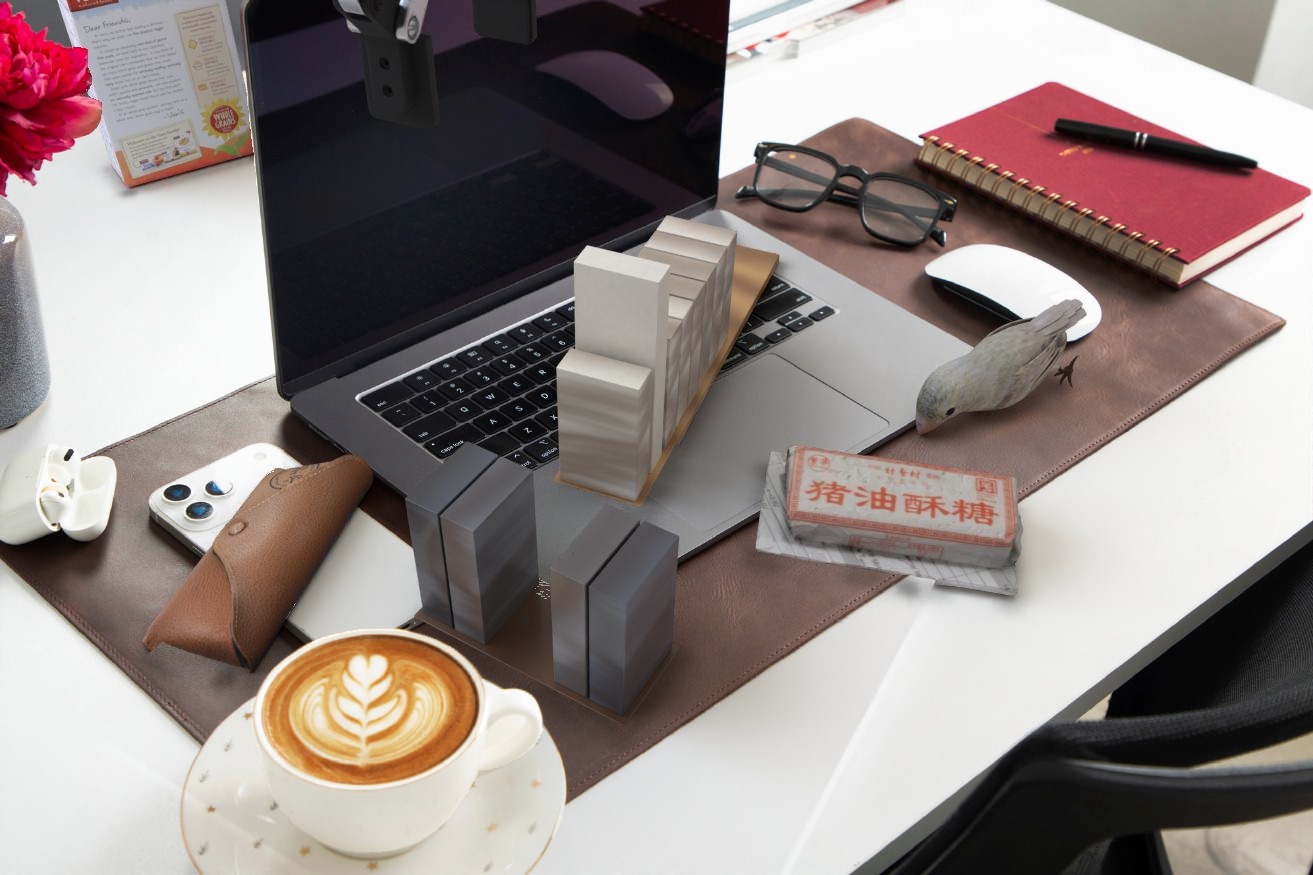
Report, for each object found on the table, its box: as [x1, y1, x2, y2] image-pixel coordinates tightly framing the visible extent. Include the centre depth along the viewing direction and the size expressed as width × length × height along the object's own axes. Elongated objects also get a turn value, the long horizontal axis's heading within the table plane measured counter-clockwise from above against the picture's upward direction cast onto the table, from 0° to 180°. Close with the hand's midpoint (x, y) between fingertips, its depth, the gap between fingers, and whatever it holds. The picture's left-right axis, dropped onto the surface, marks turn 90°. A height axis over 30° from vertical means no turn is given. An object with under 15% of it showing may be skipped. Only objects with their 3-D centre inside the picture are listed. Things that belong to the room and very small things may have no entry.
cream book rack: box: [552, 215, 780, 508], centre depth 92 cm, size 36×7×12 cm, turn 159°
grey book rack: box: [404, 441, 682, 727], centre depth 70 cm, size 16×7×12 cm, turn 60°
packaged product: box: [755, 445, 1024, 597], centre depth 81 cm, size 18×5×10 cm
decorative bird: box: [915, 298, 1088, 436], centre depth 91 cm, size 5×16×8 cm, turn 123°
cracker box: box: [56, 0, 254, 188], centre depth 112 cm, size 14×6×21 cm, turn 126°
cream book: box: [573, 245, 671, 473], centre depth 80 cm, size 2×6×17 cm, turn 69°
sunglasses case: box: [141, 454, 374, 674], centre depth 77 cm, size 18×7×7 cm, turn 167°
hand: (458, 77), depth 53 cm, fingers open, 9 cm apart
